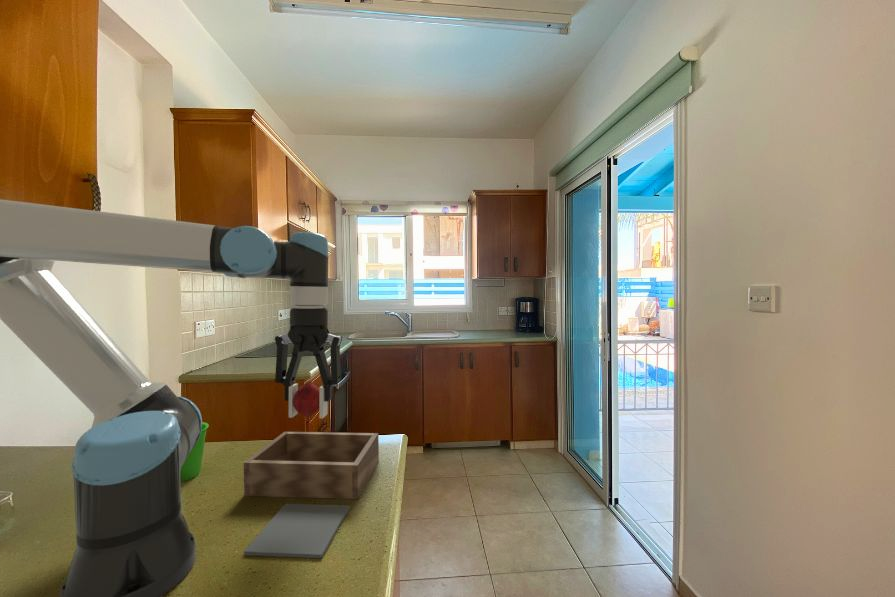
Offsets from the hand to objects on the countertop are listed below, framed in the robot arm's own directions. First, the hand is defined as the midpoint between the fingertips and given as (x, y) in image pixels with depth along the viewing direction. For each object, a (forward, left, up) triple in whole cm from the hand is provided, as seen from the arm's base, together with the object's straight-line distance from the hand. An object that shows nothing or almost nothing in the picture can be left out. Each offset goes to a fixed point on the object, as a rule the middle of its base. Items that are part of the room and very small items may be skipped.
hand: (308, 415), depth 76 cm
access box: (-1, +6, -16) cm, 18 cm away
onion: (0, 0, -1) cm, 1 cm away
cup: (-32, +5, -17) cm, 36 cm away
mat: (+4, -12, -16) cm, 21 cm away
